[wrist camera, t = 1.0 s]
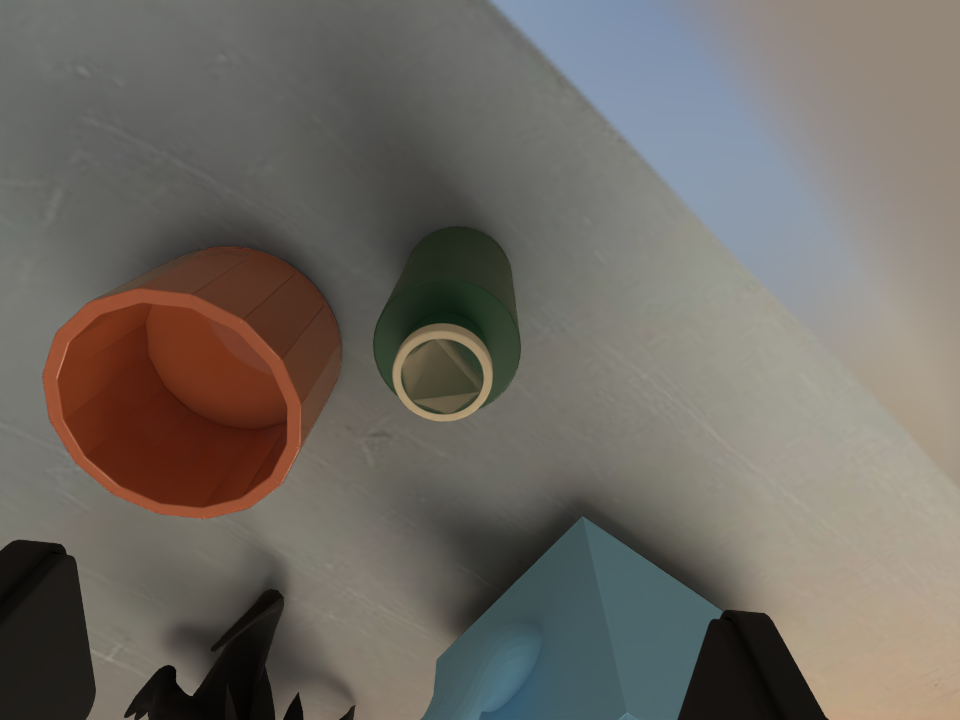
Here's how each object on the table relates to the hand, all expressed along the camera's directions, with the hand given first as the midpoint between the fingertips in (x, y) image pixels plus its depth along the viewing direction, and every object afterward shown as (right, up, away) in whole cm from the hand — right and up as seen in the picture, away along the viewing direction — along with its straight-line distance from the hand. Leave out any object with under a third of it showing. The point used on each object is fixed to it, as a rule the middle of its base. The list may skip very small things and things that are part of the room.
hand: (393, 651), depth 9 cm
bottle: (0, +8, +17) cm, 18 cm away
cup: (-9, +5, +18) cm, 21 cm away
